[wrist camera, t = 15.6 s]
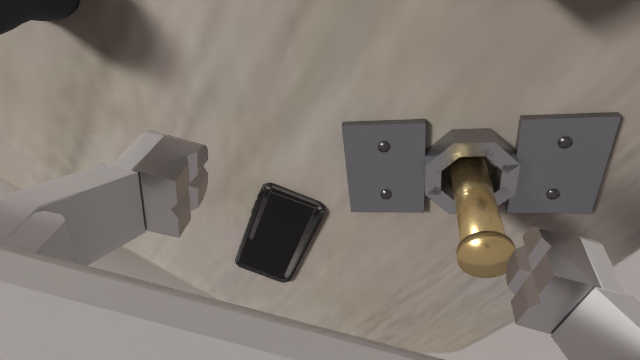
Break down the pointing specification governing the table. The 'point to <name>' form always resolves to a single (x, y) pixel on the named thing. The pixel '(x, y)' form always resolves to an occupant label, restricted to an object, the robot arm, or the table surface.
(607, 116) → the hinge body
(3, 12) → the mug
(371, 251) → the table surface
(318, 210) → the phone
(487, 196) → the pin
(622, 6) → the table surface
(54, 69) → the table surface
